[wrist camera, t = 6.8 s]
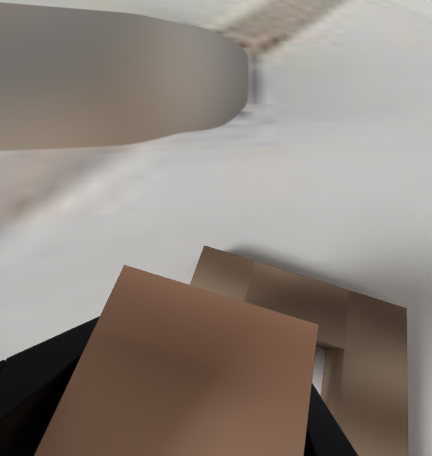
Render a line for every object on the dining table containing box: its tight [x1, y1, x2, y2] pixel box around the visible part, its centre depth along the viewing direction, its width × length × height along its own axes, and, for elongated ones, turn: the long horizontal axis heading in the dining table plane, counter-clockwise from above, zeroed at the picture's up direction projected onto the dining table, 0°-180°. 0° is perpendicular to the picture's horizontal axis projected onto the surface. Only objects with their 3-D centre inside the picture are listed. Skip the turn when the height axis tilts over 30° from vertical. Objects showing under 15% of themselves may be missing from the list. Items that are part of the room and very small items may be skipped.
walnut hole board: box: [190, 246, 408, 456], centre depth 18 cm, size 16×16×3 cm
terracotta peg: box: [34, 265, 318, 456], centre depth 9 cm, size 5×5×10 cm
